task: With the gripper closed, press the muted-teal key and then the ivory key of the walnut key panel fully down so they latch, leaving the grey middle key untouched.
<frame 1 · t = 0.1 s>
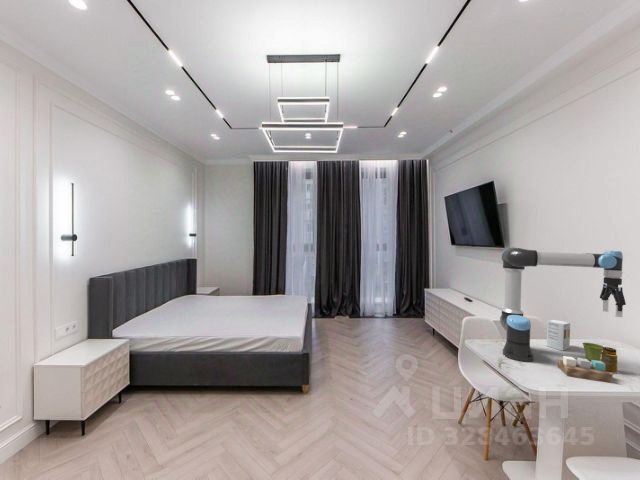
hand: (611, 314, 169), 28 cm above the table, fingers open, 13 cm apart
teal key: (598, 365, 150), point 5 cm above the table, slide at 0.0 cm
grey key: (583, 363, 152), point 5 cm above the table, slide at 0.0 cm
plant pot: (592, 360, 172), on the table
ivory key: (569, 361, 155), point 5 cm above the table, slide at 0.0 cm
key panel: (583, 374, 152), on the table
supplement box: (557, 347, 192), on the table
condiment: (607, 370, 158), on the table
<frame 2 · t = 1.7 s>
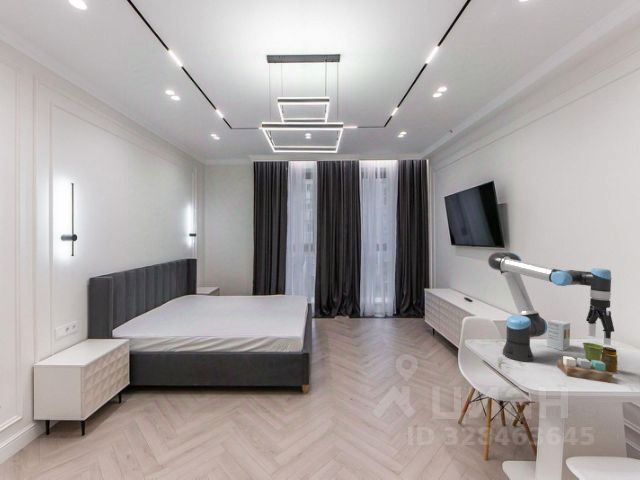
hand: (598, 340, 151), 19 cm above the table, fingers open, 13 cm apart
nothing on the table moved.
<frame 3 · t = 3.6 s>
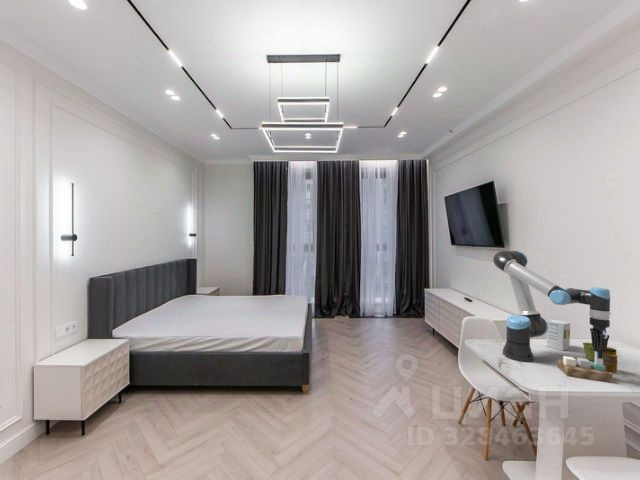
hand: (598, 364, 150), 6 cm above the table, fingers closed
teal key: (598, 368, 150), point 4 cm above the table, slide at 1.3 cm, touching gripper
everything else where it was.
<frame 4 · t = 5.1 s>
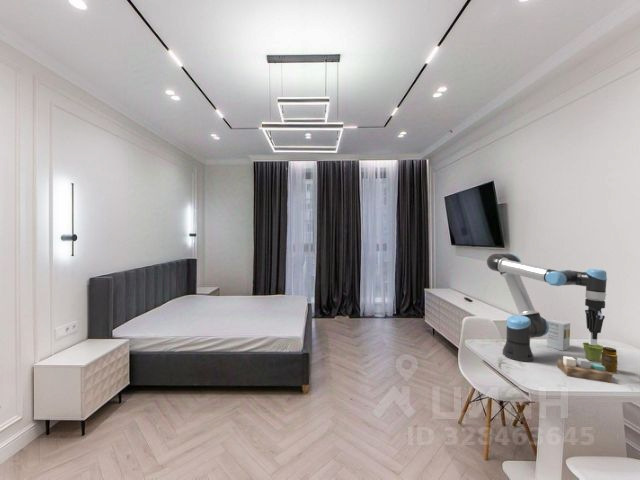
hand: (592, 344, 152), 16 cm above the table, fingers closed
teal key: (598, 369, 150), point 4 cm above the table, slide at 1.8 cm
everything else where it was.
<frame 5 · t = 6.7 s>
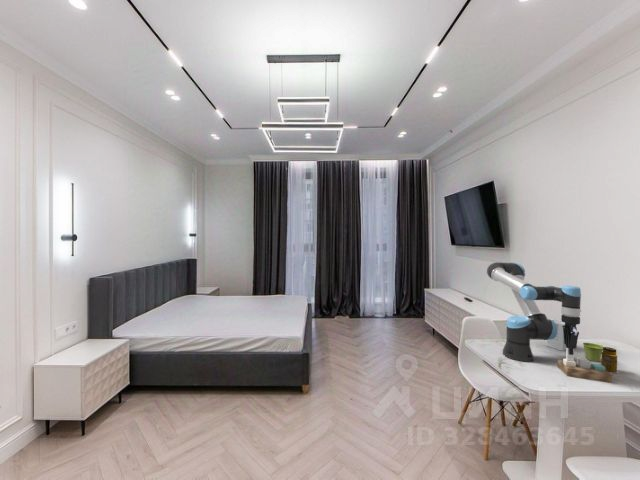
hand: (569, 360, 154), 7 cm above the table, fingers closed
ivory key: (569, 364, 155), point 4 cm above the table, slide at 1.3 cm
everything else where it was.
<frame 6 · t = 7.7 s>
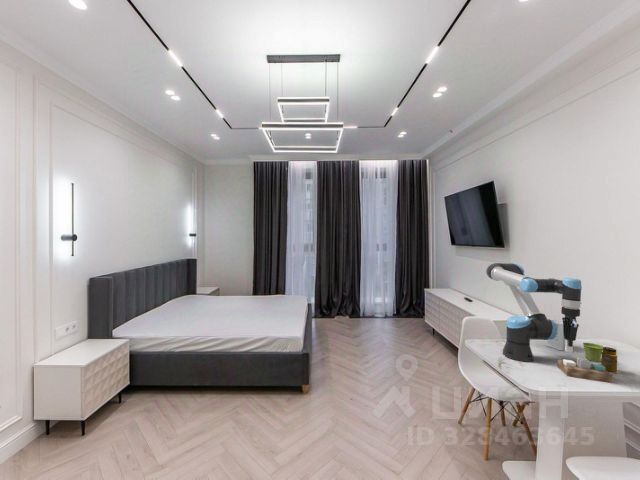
hand: (568, 351, 155), 11 cm above the table, fingers closed
ivory key: (569, 365, 155), point 4 cm above the table, slide at 1.8 cm
everything else where it was.
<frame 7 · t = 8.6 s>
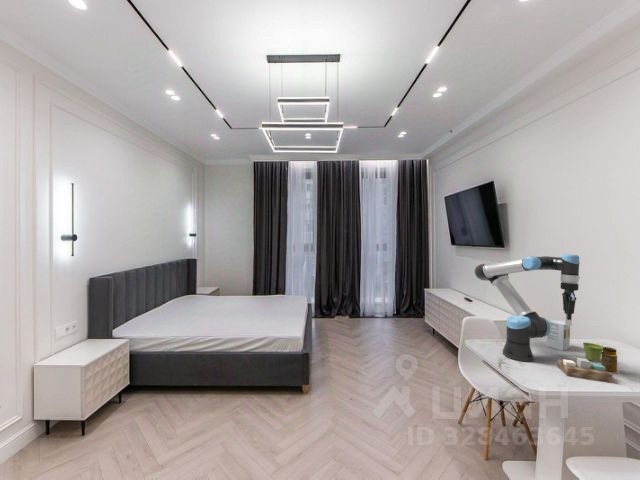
hand: (567, 325, 161), 23 cm above the table, fingers closed
nothing on the table moved.
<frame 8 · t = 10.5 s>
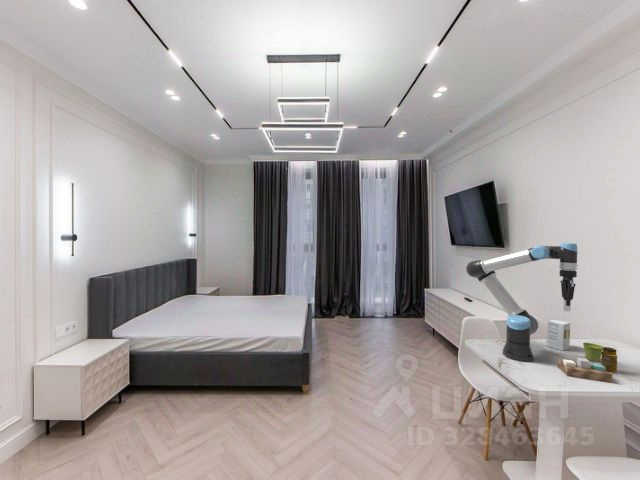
hand: (566, 311, 168), 29 cm above the table, fingers closed
nothing on the table moved.
at the end: teal key slide at 1.8 cm; ivory key slide at 1.8 cm; grey key slide at 0.0 cm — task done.
